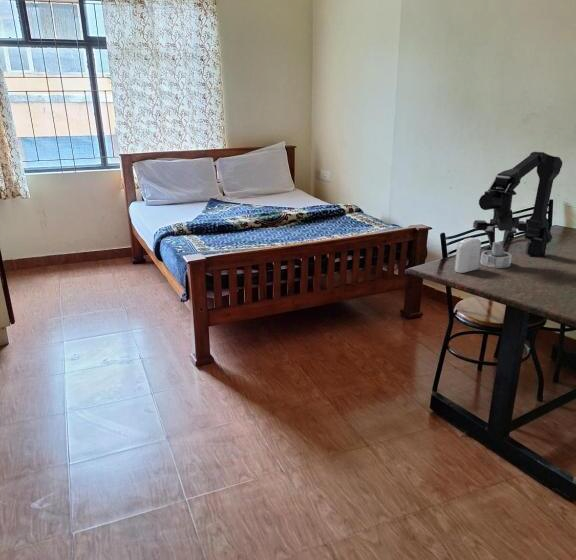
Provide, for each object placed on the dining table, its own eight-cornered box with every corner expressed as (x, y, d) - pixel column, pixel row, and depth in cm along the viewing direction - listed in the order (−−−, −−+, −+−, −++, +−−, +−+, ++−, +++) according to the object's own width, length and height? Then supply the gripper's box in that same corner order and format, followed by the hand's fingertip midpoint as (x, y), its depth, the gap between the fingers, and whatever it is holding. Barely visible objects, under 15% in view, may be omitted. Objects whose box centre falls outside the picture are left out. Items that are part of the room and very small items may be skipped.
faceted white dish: (505, 260, 200) (506, 250, 199) (513, 268, 190) (514, 258, 189) (477, 259, 201) (478, 249, 200) (484, 267, 191) (485, 257, 190)
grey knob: (502, 256, 198) (504, 241, 196) (507, 261, 191) (510, 246, 189) (484, 256, 198) (486, 241, 197) (488, 261, 192) (490, 245, 190)
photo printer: (470, 266, 192) (473, 235, 188) (479, 269, 188) (483, 237, 184) (452, 271, 186) (455, 239, 183) (461, 274, 183) (465, 241, 179)
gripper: (482, 211, 182) (477, 252, 187) (536, 211, 180) (529, 253, 185) (475, 205, 192) (470, 245, 197) (525, 206, 190) (520, 246, 195)
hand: (497, 247), depth 193 cm, fingers open, 4 cm apart
